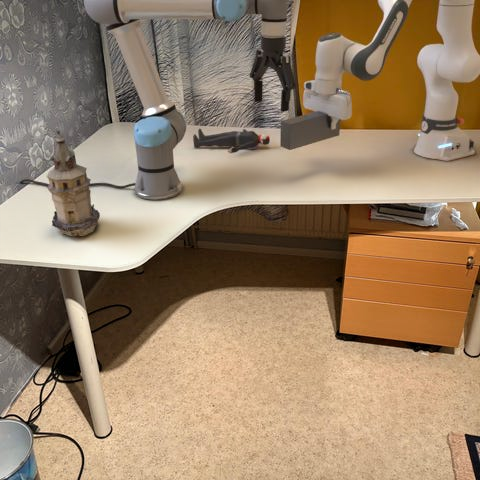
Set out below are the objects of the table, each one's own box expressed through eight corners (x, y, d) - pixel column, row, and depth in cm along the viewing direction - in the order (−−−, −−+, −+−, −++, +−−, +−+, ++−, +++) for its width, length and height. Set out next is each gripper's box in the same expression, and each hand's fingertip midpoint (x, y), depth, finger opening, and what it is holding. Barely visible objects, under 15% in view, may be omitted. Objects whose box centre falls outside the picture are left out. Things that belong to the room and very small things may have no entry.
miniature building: (80, 214, 164) (63, 117, 149) (111, 225, 157) (96, 125, 142) (44, 231, 154) (22, 130, 140) (75, 244, 147) (55, 139, 133)
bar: (289, 150, 175) (290, 124, 171) (280, 146, 179) (280, 120, 174) (339, 135, 187) (340, 110, 182) (329, 132, 190) (330, 107, 186)
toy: (204, 122, 226) (274, 122, 220) (205, 136, 229) (274, 137, 223) (186, 142, 204) (264, 143, 198) (188, 157, 207) (264, 159, 201)
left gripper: (310, 40, 154) (305, 113, 165) (258, 29, 172) (256, 95, 182) (291, 43, 150) (287, 117, 161) (239, 31, 168) (238, 99, 179)
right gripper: (357, 90, 172) (354, 131, 179) (314, 79, 186) (312, 118, 193) (343, 93, 169) (341, 136, 175) (300, 82, 183) (299, 121, 190)
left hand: (271, 106), depth 172 cm, fingers open, 13 cm apart
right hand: (325, 126), depth 184 cm, fingers closed on bar, 5 cm apart
